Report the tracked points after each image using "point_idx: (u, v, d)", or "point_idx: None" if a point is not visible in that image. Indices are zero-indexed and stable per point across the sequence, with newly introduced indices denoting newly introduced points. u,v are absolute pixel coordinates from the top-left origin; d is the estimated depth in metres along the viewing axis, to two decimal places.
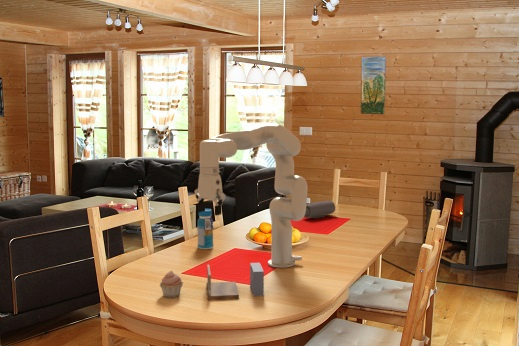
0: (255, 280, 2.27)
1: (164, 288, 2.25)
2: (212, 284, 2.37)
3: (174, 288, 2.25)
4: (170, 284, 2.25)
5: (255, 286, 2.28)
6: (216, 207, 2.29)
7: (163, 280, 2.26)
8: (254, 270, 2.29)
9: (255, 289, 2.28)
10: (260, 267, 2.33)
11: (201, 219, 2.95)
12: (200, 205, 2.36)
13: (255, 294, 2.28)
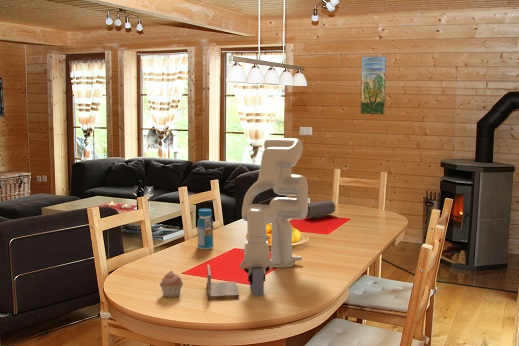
0: (255, 280, 2.27)
1: (164, 288, 2.25)
2: (212, 284, 2.37)
3: (174, 288, 2.25)
4: (170, 284, 2.25)
5: (255, 286, 2.28)
6: None
7: (163, 280, 2.26)
8: (254, 270, 2.29)
9: (255, 289, 2.28)
10: (260, 267, 2.33)
11: (201, 219, 2.95)
12: None
13: (255, 294, 2.28)
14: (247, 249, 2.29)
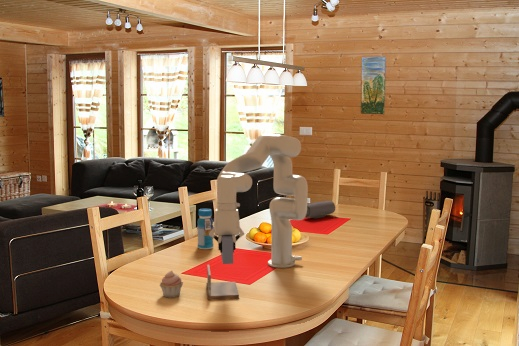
0: (224, 247, 2.24)
1: (164, 288, 2.25)
2: (212, 284, 2.37)
3: (174, 288, 2.25)
4: (170, 284, 2.25)
5: (224, 254, 2.24)
6: (233, 244, 2.29)
7: (163, 280, 2.26)
8: (223, 237, 2.25)
9: (224, 257, 2.25)
10: (230, 235, 2.29)
11: (201, 219, 2.95)
12: None
13: (224, 262, 2.25)
14: (216, 216, 2.26)
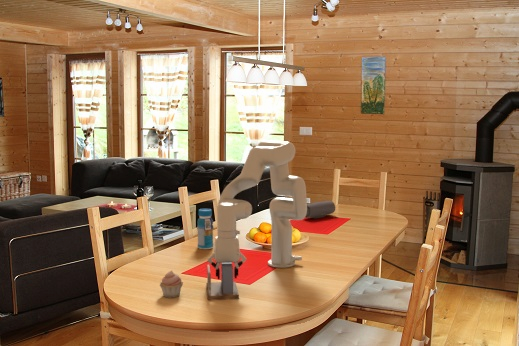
0: (224, 277, 2.26)
1: (164, 288, 2.25)
2: (212, 284, 2.37)
3: (174, 288, 2.25)
4: (170, 284, 2.25)
5: (225, 283, 2.26)
6: (236, 270, 2.31)
7: (163, 280, 2.26)
8: (224, 267, 2.27)
9: (225, 286, 2.26)
10: (230, 264, 2.31)
11: (201, 219, 2.95)
12: None
13: (225, 291, 2.27)
14: (217, 244, 2.28)
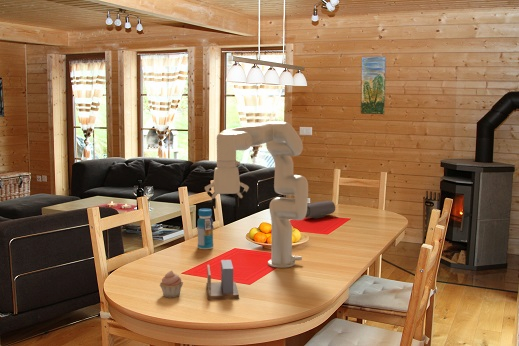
0: (224, 277, 2.26)
1: (164, 288, 2.25)
2: (212, 284, 2.37)
3: (174, 288, 2.25)
4: (170, 284, 2.25)
5: (225, 283, 2.26)
6: (240, 199, 2.27)
7: (163, 280, 2.26)
8: (224, 267, 2.27)
9: (225, 286, 2.26)
10: (230, 264, 2.31)
11: (201, 219, 2.95)
12: (215, 201, 2.26)
13: (225, 291, 2.27)
14: (216, 174, 2.24)
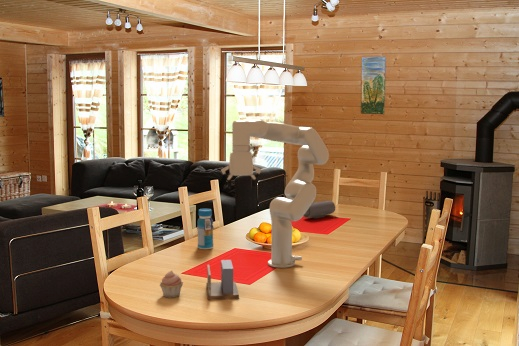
0: (224, 277, 2.26)
1: (164, 288, 2.25)
2: (212, 284, 2.37)
3: (174, 288, 2.25)
4: (170, 284, 2.25)
5: (225, 283, 2.26)
6: (253, 181, 2.50)
7: (163, 280, 2.26)
8: (224, 267, 2.27)
9: (225, 286, 2.26)
10: (230, 264, 2.31)
11: (201, 219, 2.95)
12: None
13: (225, 291, 2.27)
14: (232, 158, 2.47)
